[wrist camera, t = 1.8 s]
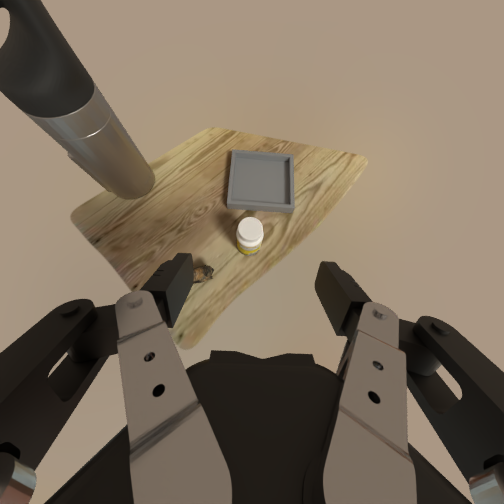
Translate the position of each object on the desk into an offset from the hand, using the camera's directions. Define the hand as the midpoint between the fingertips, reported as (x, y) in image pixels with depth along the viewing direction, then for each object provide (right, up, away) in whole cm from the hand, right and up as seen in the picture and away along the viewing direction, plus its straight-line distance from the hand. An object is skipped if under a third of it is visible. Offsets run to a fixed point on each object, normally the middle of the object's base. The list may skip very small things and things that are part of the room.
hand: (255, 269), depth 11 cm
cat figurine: (-11, -4, +23) cm, 26 cm away
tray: (+2, +17, +30) cm, 34 cm away
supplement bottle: (-1, +2, +26) cm, 26 cm away
